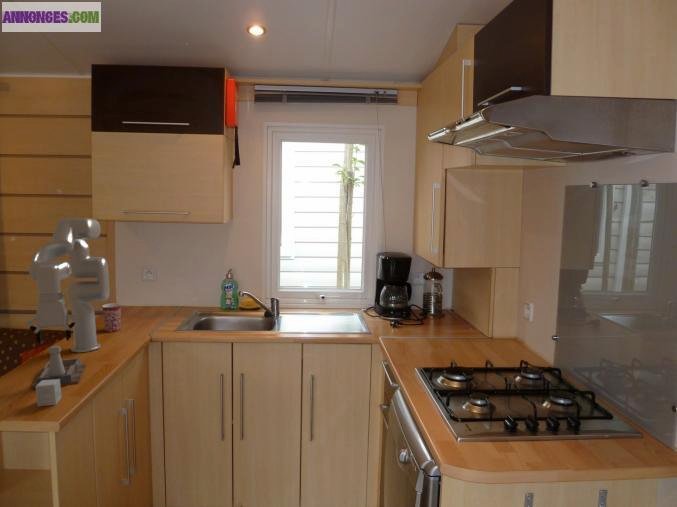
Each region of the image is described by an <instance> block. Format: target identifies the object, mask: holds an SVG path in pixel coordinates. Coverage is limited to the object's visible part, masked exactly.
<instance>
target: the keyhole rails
mask: <svg viewBox="0 0 677 507" xmlns="http://www.w3.org/2000/svg"><path fill="white" fill-rule="evenodd" d="M62 363H63V366H69V365H71V366H70V368H69V370H68V372H67V374H66V375H60V376H51V377H49V376H48V372H49V364H50V360H48V361H47V362H46V364H45V365H44V366H43V368H44V371H43V372H42V374H41V376H40V377H39V383H40V382H41V381H42V380H55V379H60V383H62V382H71V380H72V378H73V376H74V374H75V371H77V370H78V368H79V366H80V364H81V363H82V362H81V357H74V358H65V359H62Z"/></svg>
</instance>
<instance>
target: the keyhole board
mask: <svg viewBox="0 0 677 507" xmlns="http://www.w3.org/2000/svg"><path fill="white" fill-rule="evenodd" d="M80 363H81V364H80V366H79V368H78V370H77V371H75V374H74V376H73V378H72V380H71V382H62V383H60V386H64V385H65V386H66V385H67V386H68V385H73V384H74V385H75V383H76V384H79V383H80V382H81V379H80V378H82V376H83V374H84V371H85V368H86V366H87V362H83V363H82V362H80ZM70 366H71V365H69V366H64V369H65V375H66V374H67V372H68V370H69V368H70ZM43 371H44V367H42V369H41V370H40V372H39V373H38V375H37V376H36V378H35V380H34V381H33V383H32V384H31V388H30V389H33V390H34V389H36V386H37V385H38V384H39V377H40V376H41V374H42V372H43ZM82 373H83V374H82Z"/></svg>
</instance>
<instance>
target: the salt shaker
mask: <svg viewBox="0 0 677 507" xmlns="http://www.w3.org/2000/svg"><path fill="white" fill-rule="evenodd" d="M61 353H62V348H61V346H59V345H53V346H52V345H51V346H50V347H49V348H48V354H49V355H50V359H49V361H50V364H49V372H48V376H49V377H51V376H60V375H65V369H64V366H63V363H62V360H63V359H62V357H61Z"/></svg>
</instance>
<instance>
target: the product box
mask: <svg viewBox="0 0 677 507" xmlns="http://www.w3.org/2000/svg"><path fill="white" fill-rule="evenodd" d="M61 386H62V385H60V379H55V380H42V381H41V382H40V383H39V384H38V385H37V386H36V388H35V395H36V405H37V407H44V406H46V407H47V406H56V405H57V404H58V403H59V402H60V400H62V389H61V388H62V387H61Z"/></svg>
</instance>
